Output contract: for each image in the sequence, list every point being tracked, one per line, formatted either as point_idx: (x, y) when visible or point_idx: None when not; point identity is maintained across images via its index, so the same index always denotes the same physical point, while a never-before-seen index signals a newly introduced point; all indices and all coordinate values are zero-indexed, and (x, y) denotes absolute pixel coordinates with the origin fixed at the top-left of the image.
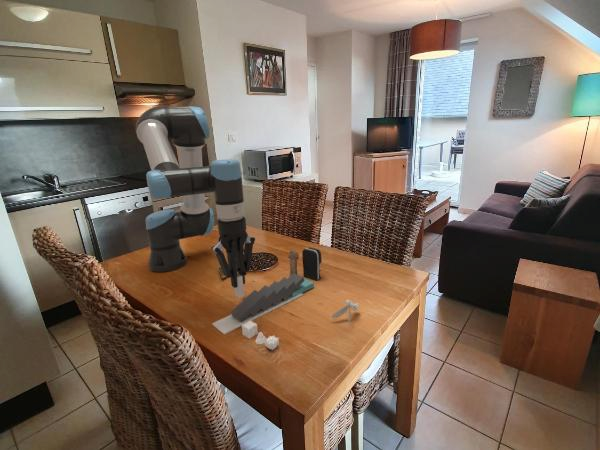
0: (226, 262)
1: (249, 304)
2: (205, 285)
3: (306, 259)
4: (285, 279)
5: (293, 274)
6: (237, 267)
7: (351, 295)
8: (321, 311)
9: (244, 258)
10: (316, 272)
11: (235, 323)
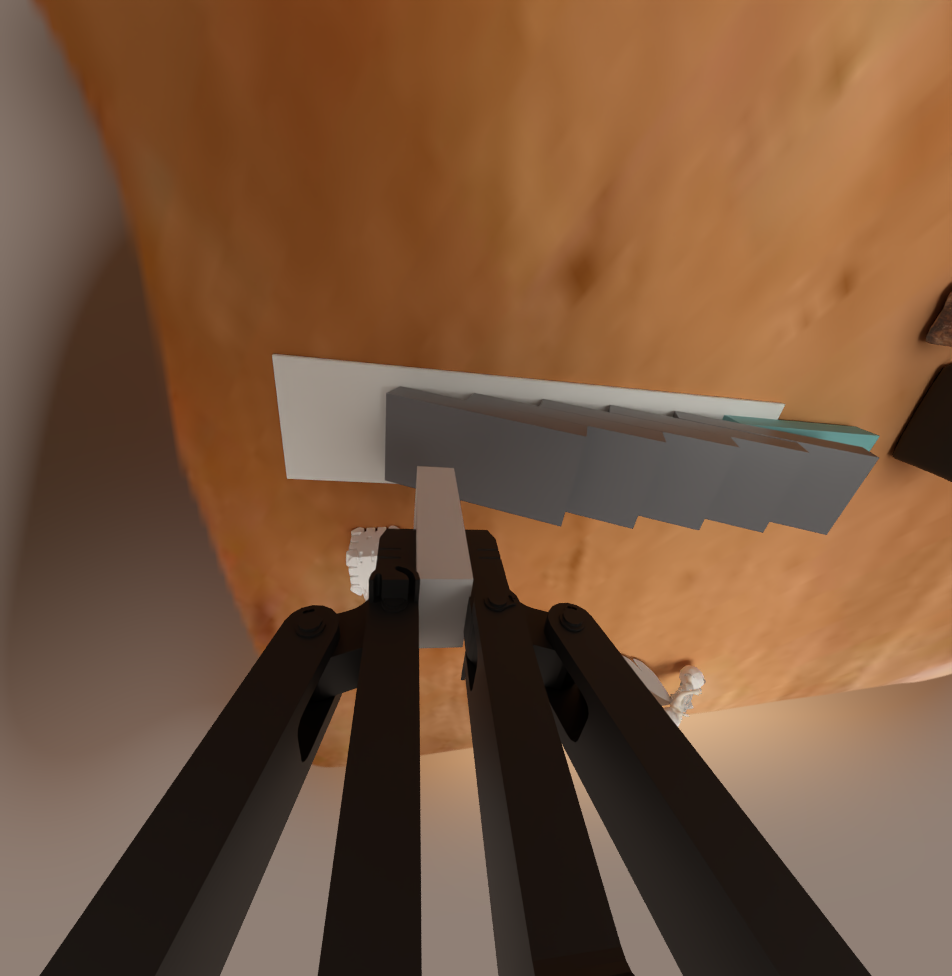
0: (228, 933)
1: (475, 478)
2: None
3: None
4: (783, 473)
5: (859, 467)
6: (479, 655)
7: (777, 613)
8: (640, 610)
9: (612, 752)
10: (940, 476)
11: (372, 452)
